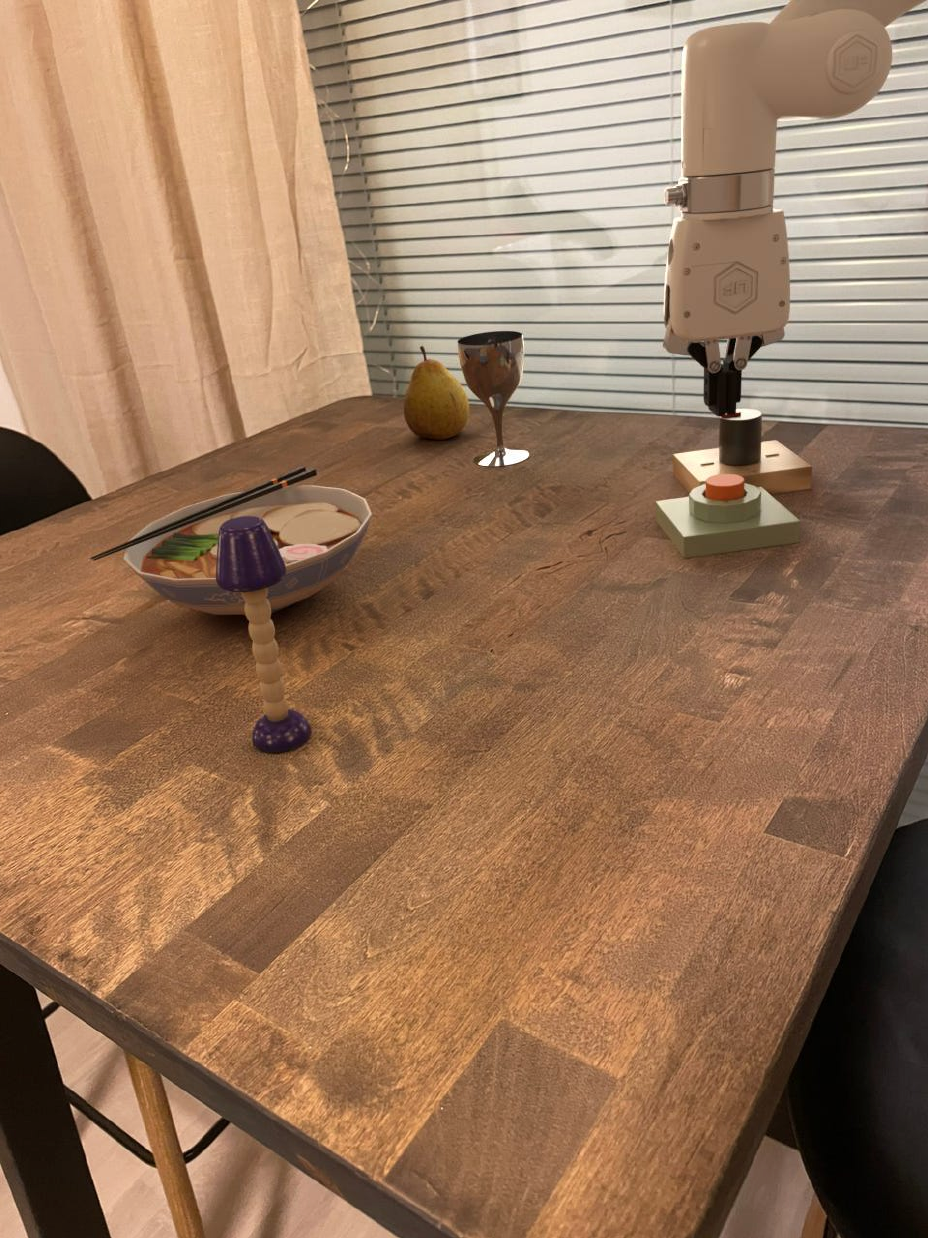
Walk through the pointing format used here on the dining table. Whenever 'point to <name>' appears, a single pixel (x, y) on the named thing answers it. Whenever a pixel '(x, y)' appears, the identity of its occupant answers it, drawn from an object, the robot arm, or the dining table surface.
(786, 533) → the switch box
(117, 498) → the dining table surface
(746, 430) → the dimmer knob
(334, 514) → the ramen bowl
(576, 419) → the dining table surface
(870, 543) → the dining table surface
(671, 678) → the dining table surface
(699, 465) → the dimmer panel
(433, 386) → the fruit
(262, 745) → the toy lamp
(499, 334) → the wine glass
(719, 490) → the power button
